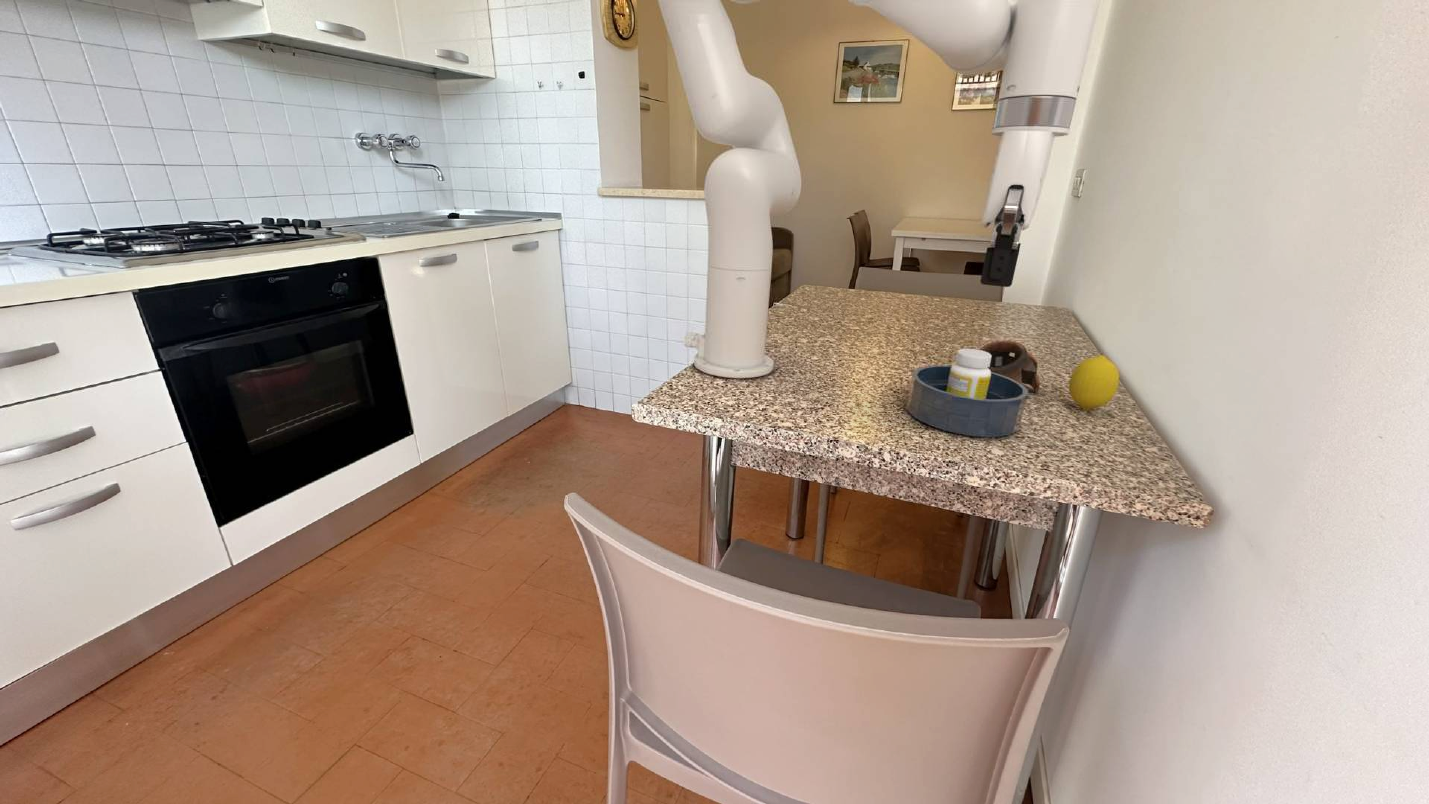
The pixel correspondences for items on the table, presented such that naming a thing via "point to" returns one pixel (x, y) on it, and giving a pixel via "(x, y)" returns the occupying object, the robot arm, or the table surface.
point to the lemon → (1094, 382)
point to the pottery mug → (1013, 362)
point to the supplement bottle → (970, 374)
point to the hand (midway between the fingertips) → (997, 279)
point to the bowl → (966, 404)
